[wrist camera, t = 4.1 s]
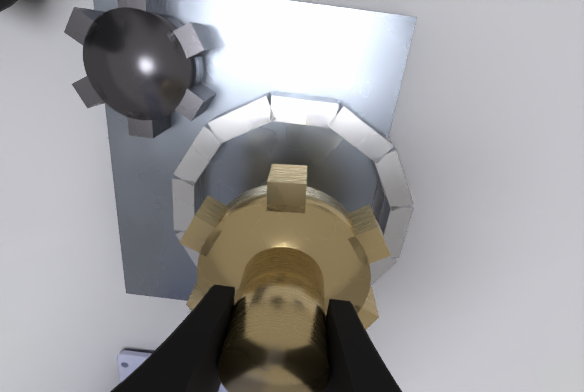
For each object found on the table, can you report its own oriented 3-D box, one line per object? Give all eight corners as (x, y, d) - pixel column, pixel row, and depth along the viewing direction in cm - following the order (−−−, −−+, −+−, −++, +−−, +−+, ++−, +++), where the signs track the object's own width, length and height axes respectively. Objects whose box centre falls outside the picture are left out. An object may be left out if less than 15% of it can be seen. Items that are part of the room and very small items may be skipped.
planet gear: (363, 330, 15) (389, 468, 10) (203, 319, 15) (154, 450, 10) (392, 170, 12) (448, 261, 7) (188, 158, 12) (107, 240, 7)
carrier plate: (366, 308, 21) (375, 350, 18) (134, 280, 21) (106, 318, 18) (443, 23, 15) (476, 19, 12) (105, -20, 15) (53, -36, 12)
